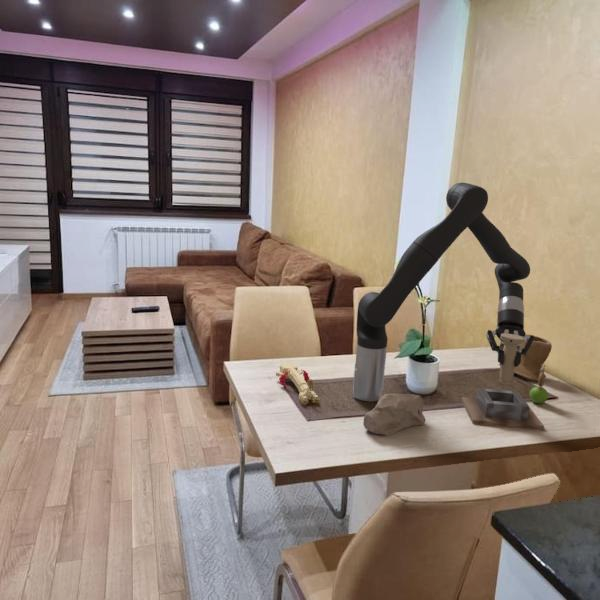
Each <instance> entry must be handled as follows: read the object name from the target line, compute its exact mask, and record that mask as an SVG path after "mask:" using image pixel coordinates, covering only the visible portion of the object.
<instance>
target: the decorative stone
mask: <svg viewBox="0 0 600 600" xmlns="http://www.w3.org/2000/svg"><path fill="white" fill-rule="evenodd" d="M423 411H424V399H423V398H422V396H421V395H418V394H413V393H385V394H382V395H381V396H380V398H379V400H378V401H377V403H376V404H375V407H374V408H372V410H370V411H368V412H367V413H366V414H365V415H364V416H363V427H364V429H366V430H367V431H368V432H370V433H373V434H376V435H384V436H390V435H392V434H395V433H397V432H399V431H400V430H403V429H408V428H410V427H412V426H423V425H424V424H425V423H426V418H425V415H424V414H423Z"/></svg>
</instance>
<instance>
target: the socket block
mask: <svg viewBox="0 0 600 600" xmlns="http://www.w3.org/2000/svg"><path fill="white" fill-rule="evenodd" d="M460 401H461V403H462V405H463V407H464V408H465V411H466V413H467V415H468V418H469V419H470V422H471V423H472V424H473V425H483V426H494V427H495V426H496V427H504V428H505V427H507V428H515V429H516V428H517V429H527V430H539V431H544V429H545V425H544V424H543V422H541V420H540V419H539V417H538V416H537V415H536V414H535V412H534V411H533V410H532V408H531V407H530V406H529V404H528V402H526V400H525V399H524V398H523V397H522V395H521V394H520V392H519V391H514V390H505V389H495V388H482V387H481V388H480V387H478V388H477V395H476V397H468V396H467V397H466V396H461V399H460Z"/></svg>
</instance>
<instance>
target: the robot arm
mask: <svg viewBox="0 0 600 600" xmlns="http://www.w3.org/2000/svg"><path fill="white" fill-rule="evenodd" d="M445 197H446V198H445V199H446V204H447V207H448V208H449V209H450V210H451V211H450V212H448V214H447V215H446V216H445V218H443V219H442V221H441V220H440V222H438V223H437V224H436V225H434V226H432V227H431V228H429V229H428V230H426V231H424V232H422V233H421V234H420V235H419V236H417V237H416V238H415V239H414V240H413V241H412V243H410V245H409V246H408V248H407V249H406V250H405V251H404V253H403V254H402V256H401V257H400V259H399V261H398V264H397V266H396V268H395V271H394V273H393V275H392V277H391V278H390V280H389V282H388V283H387V284H386V285H385V286H384V288H383V289H382V290H381V291H380V292H375V291H371V292H368V293H365V294H364V295H363V296H362V297H361V298H360V299H359V302H358V306H357V316H356V336H357V340H356V351H355V352H356V353H355V354H356V355H355V363H354V371H353V384H352V385H353V386H352V399H357V400H360V401H364V402H378V401H379V398H380V396H381V395H383V391H384V390H383V388H384V379H385V370H386V358H387V351H388V350H387V348H388V341H389V340H388V339H389V338H388V335H387V329H386V325H388V323H390V322H391V321H392V319H394V317H395V315H396V314H397V312H398V311H399V309H400V308H401V306H402V305H403V303H404V302H405V300H406V299H407V298H408V296H409V295H410V294H411V293H412V292H413V290H414V289H415V288H416V287H417V286H418V285H419V283H420V282H421V281H422V280H423V278H424V277H426V275H427V274H428V273H429V272H430V271H431V270H432V268H433V267H434V266H435V265H436V264H437V262H439V260H440V258H441V257H442V256H443V255H444V253H445V252H446V251H447V250H448V249H449V248H450V247H451V246H452V244H453V243H454V242H455V241H456V240H457V238H459V236H461V234H462V233H463V232H464V231H465V230H466V229H467V228H468V229H469V230H470V232H471V233H472V235H474V237H475V238H476V240H477V241H478V242H479V244H480V246H481V247H482V248H483V250H484V252H485V253H486V254H487V256H488V257H489V260H491V262H492V263H494V264H497V265H496V266H495V268H494V276H495V279H496V282H497V286H498V290H499V294H498V295H499V298H498V305H497V311H496V313H497V319H496V320H497V325H496V329H495V330H491V329H488V330H487V332H486V338H487V341H488V343H489V346H490V348H491V350H492V351H493V352H496V353H497V362H498V363H499V364H500V365H503V362H504V347H505V342H503V341H502V340H501V339H500V337H501V334H502V333H507V334H514V335H519V336H522V337H524V338H525V342H526V343H527V344H526V346H525V348H524V349H521V346H520V344H519V345H518V346H517V351H516V359H515V367H517V366H518V365H520V363H521V355H526V354H527V352H528V350H529V348H530V346H531V344H532V342H533V340H534V336H535V335H534V334H529V335H531V336H529V335H527V334H526V331H525V325H524V324H525V323H524V322H525V306H524V288H523V286H522V285H521V284H520V283H518V282H517V281H520V280H521V281H522V280H525V279H527V278H528V277H529V275H530V273H531V266H530V264H529V262H528V261H527V259H525V257H523V256H522V255H521V254H520V253H518V251H516V250H515V249H514V248H512V247H511V245H510V243H509V242H508V240H507V239H506V237H505V236H504V234H503V233H502V232H501V231H500V230H499V228H498V227H497V226H495V225H494V224H493V223H492V222H491V221H490V220H489V219H488V218H487V217H486V215H485V214H484V213H483V212H484V210H485V209H486V207H487V205H488V202H489V194H488V191H487V190H486V189H485V188H483V187H481V186H479V185H475V184H472V183H467V182H456V183H455V184H452V185H451V187H450V188H449V189H448V191H447V193H446V196H445ZM496 336H497V338H498V340H500V344H499V345H498V344H497V341H496V339H495V338H496Z"/></svg>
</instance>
